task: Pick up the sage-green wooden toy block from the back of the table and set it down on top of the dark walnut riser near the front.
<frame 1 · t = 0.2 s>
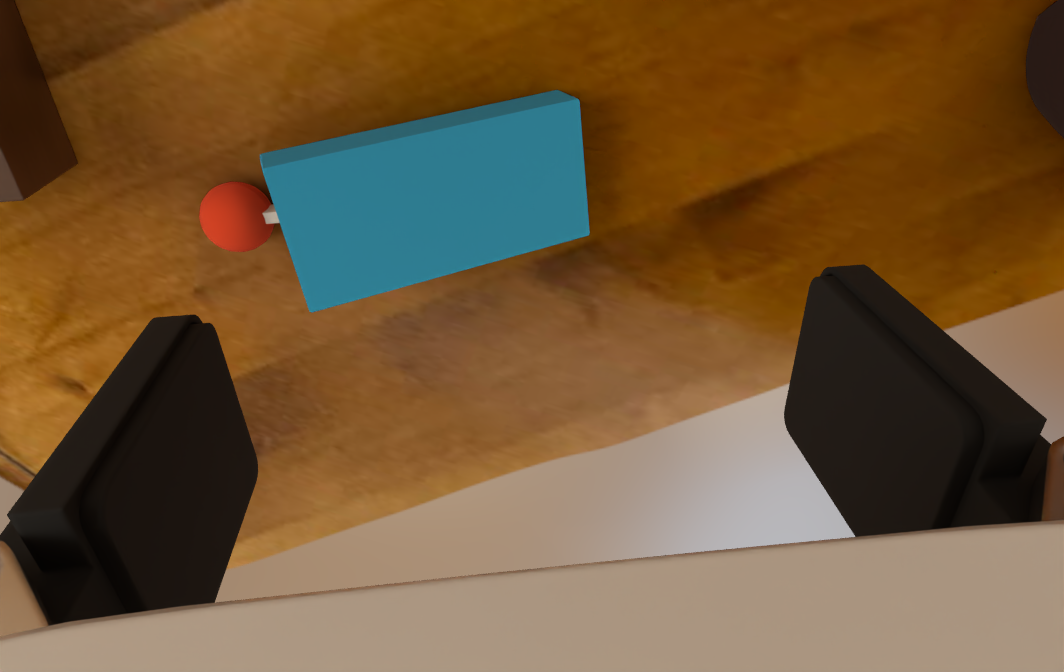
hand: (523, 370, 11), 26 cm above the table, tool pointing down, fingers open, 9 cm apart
lever: (396, 181, 35), on the table
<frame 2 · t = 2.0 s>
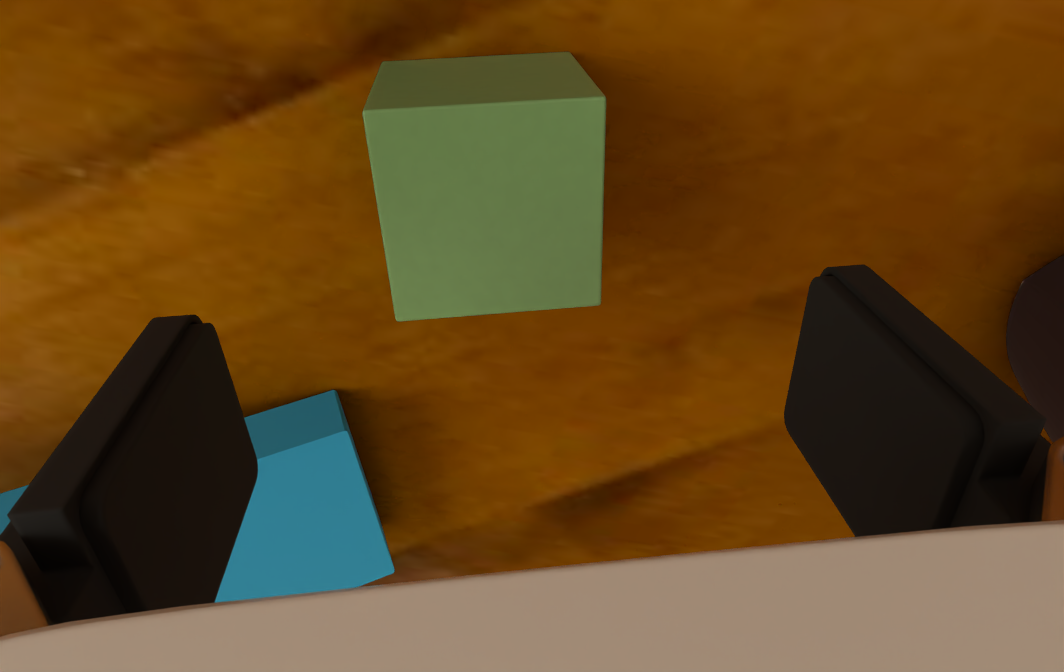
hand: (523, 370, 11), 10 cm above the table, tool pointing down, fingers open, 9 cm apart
green toy block: (483, 149, 20), on the table
lever: (123, 496, 25), on the table
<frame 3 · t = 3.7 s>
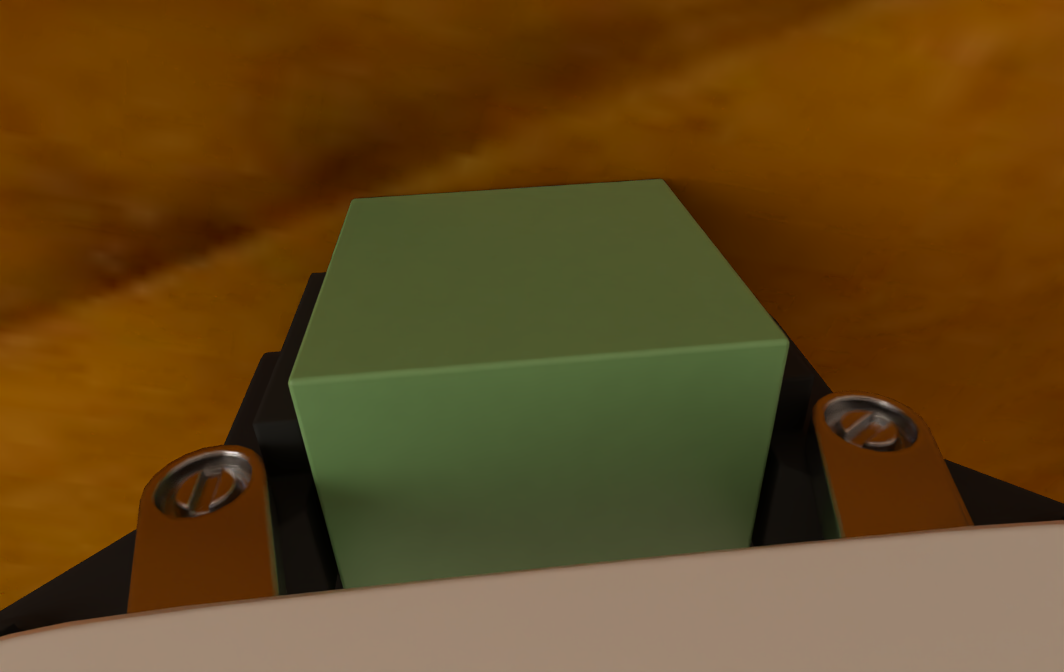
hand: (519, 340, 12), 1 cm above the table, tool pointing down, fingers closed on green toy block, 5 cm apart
green toy block: (516, 322, 12), on the table, touching gripper
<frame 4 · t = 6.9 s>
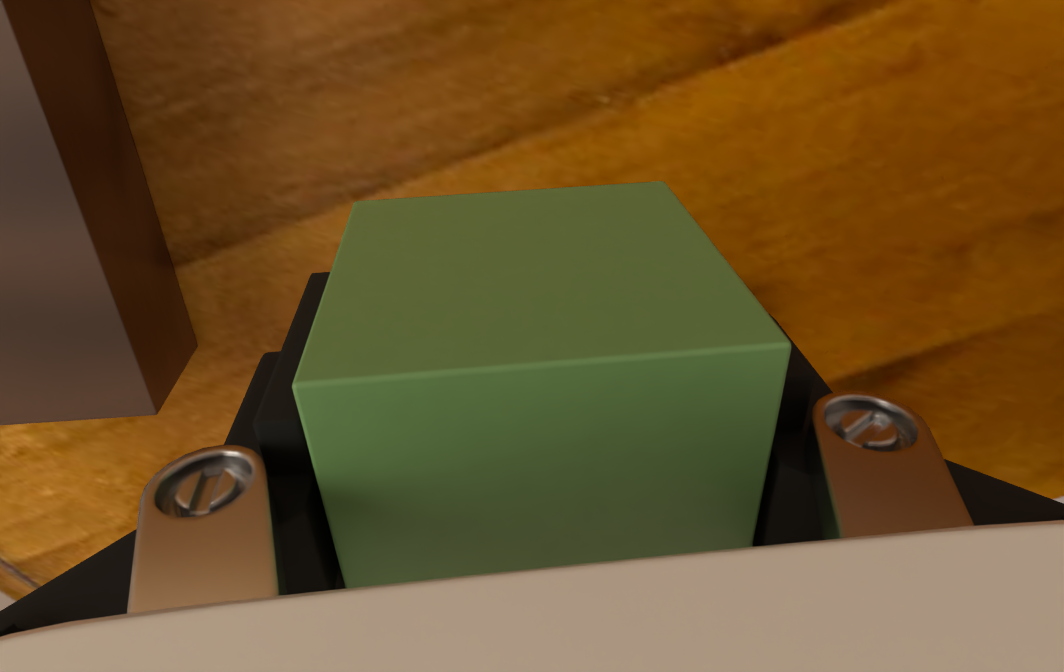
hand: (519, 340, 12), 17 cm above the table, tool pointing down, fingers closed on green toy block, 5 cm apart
green toy block: (518, 323, 12), point 17 cm above the table, touching gripper
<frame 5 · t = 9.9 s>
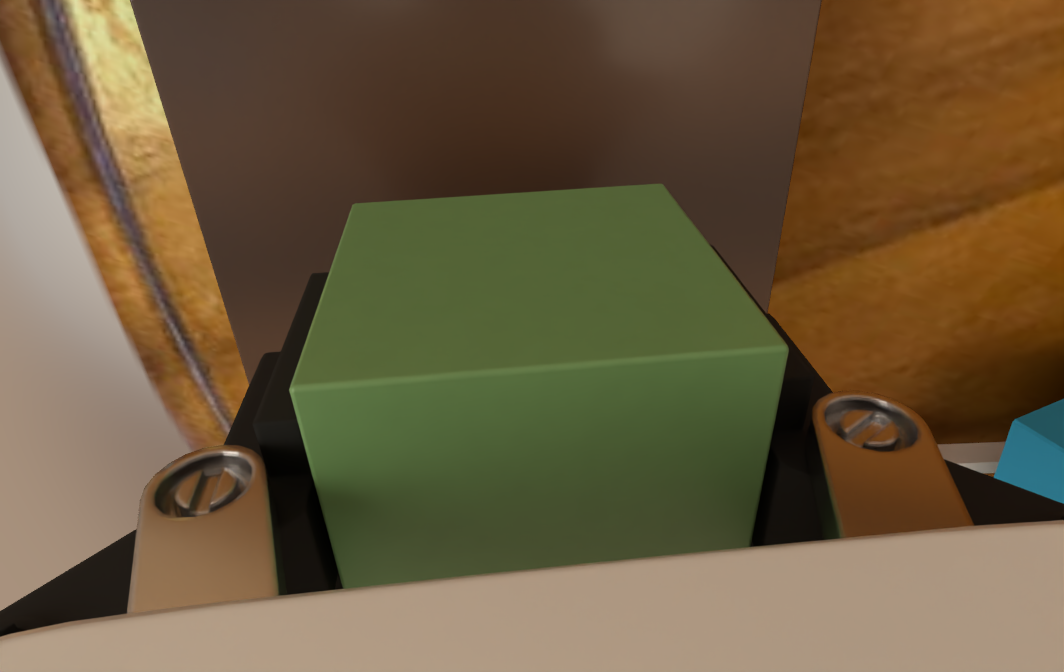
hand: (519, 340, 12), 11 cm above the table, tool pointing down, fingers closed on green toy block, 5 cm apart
walnut riser: (493, 149, 21), on the table
green toy block: (516, 325, 12), point 10 cm above the table, touching gripper
lever: (1040, 403, 28), on the table
when the fingers open (6 cm above the table, at t = 11.6 s): green toy block stays where it is, resting on walnut riser.
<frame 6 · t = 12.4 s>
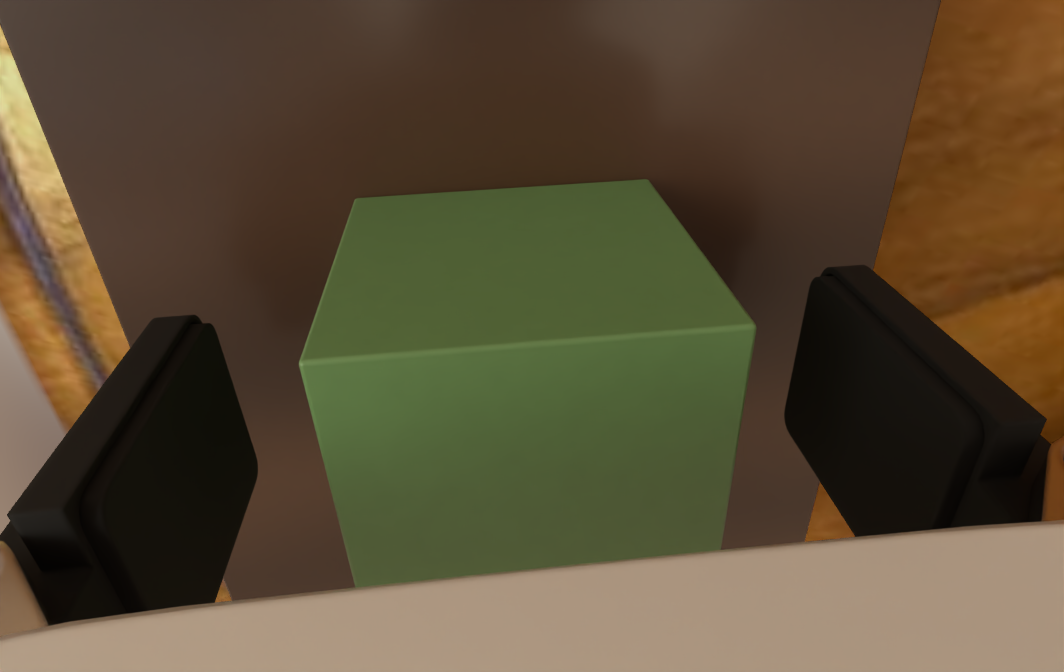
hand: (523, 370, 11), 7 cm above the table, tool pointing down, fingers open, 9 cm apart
walnut riser: (497, 211, 17), on the table
green toy block: (510, 315, 13), point 5 cm above the table, touching walnut riser
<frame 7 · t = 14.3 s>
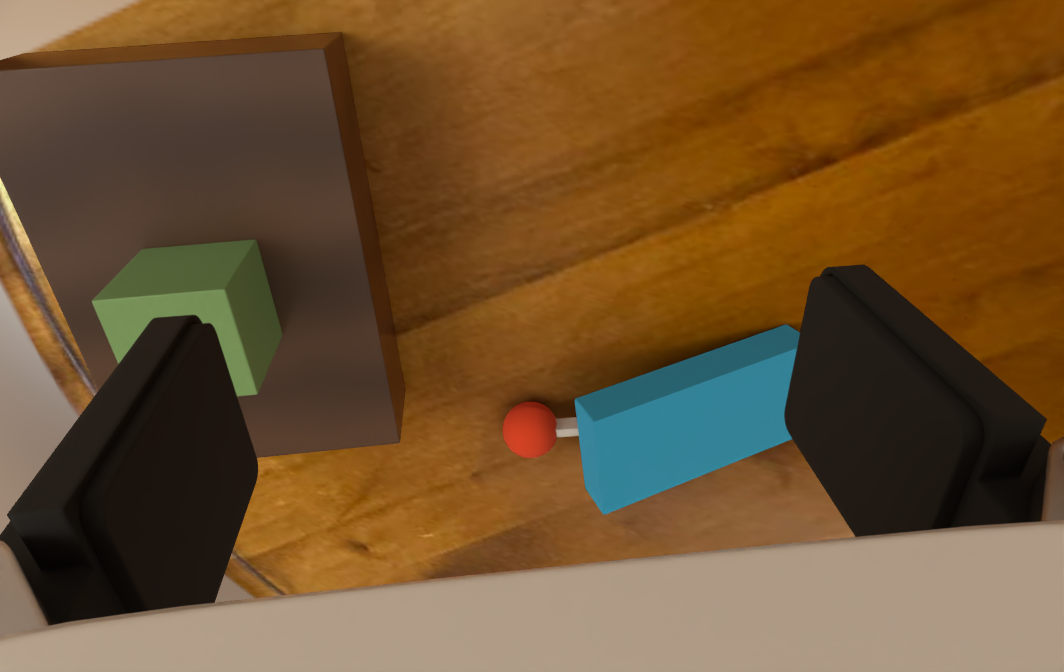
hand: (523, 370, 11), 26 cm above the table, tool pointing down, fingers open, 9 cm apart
walnut riser: (243, 247, 36), on the table
green toy block: (215, 293, 32), point 5 cm above the table, touching walnut riser
lever: (647, 391, 44), on the table
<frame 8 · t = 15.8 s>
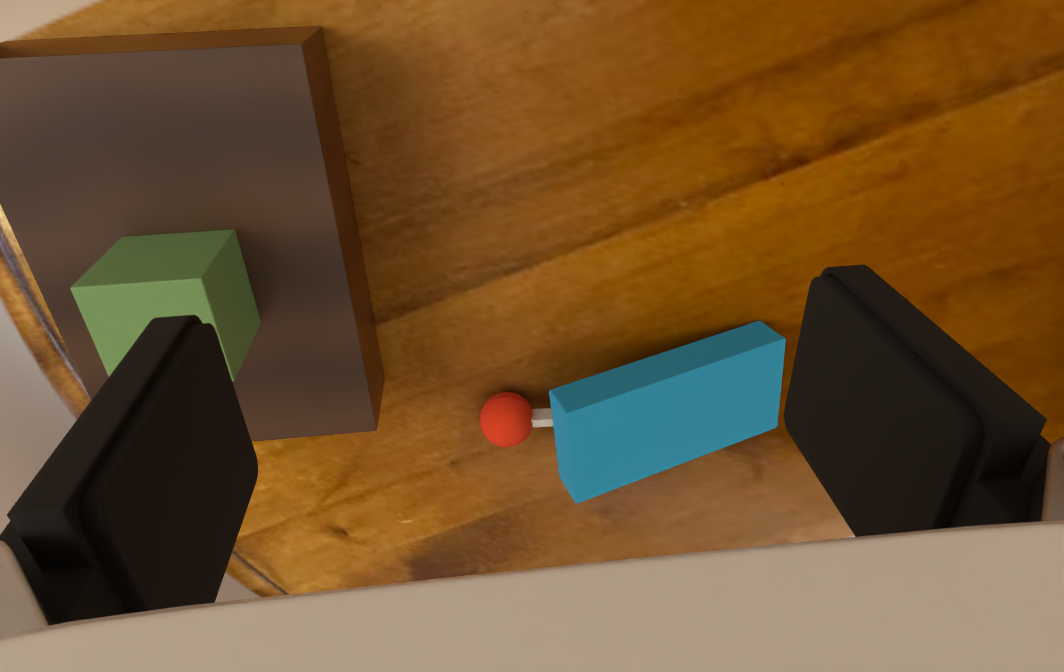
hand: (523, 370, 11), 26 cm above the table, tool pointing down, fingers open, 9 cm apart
walnut riser: (224, 236, 37), on the table
green toy block: (194, 281, 32), point 5 cm above the table, touching walnut riser
lever: (623, 383, 44), on the table
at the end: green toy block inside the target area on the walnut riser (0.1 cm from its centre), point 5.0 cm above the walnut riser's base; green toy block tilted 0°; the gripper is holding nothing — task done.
